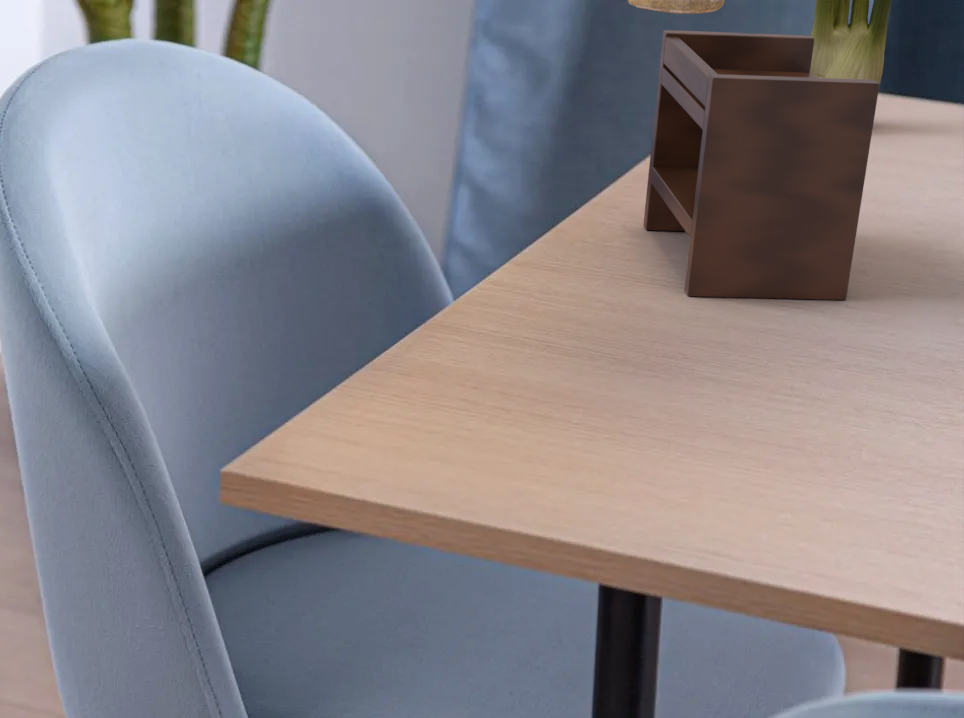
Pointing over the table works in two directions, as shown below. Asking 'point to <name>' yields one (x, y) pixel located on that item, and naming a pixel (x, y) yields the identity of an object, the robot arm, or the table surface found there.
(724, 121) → the rack
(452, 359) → the table surface
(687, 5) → the spice jar
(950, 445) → the table surface
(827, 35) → the fennel bulb
